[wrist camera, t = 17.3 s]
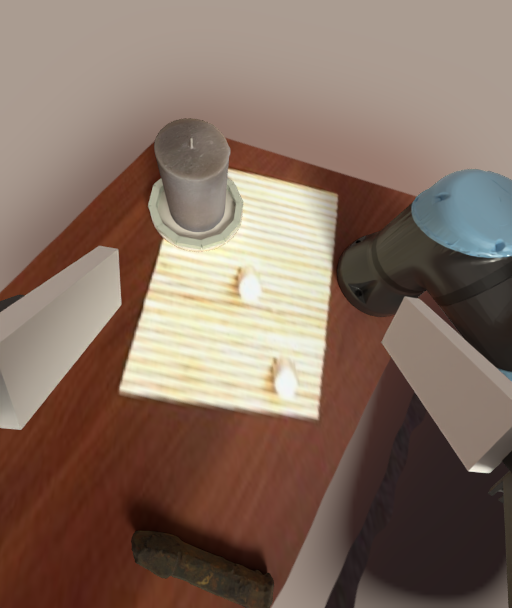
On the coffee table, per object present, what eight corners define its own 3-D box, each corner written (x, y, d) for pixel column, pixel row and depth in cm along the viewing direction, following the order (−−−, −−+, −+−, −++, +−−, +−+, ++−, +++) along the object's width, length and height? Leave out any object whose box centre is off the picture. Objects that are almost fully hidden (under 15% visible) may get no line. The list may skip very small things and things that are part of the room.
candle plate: (247, 182, 53) (248, 174, 51) (235, 258, 49) (236, 253, 47) (161, 164, 51) (159, 156, 49) (141, 242, 47) (138, 237, 45)
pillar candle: (166, 186, 49) (146, 109, 35) (220, 182, 51) (223, 107, 37) (173, 236, 47) (155, 176, 33) (230, 230, 49) (237, 170, 35)
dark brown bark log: (272, 568, 38) (280, 593, 34) (259, 603, 37) (266, 633, 32) (147, 507, 38) (139, 524, 33) (131, 540, 37) (119, 562, 32)
